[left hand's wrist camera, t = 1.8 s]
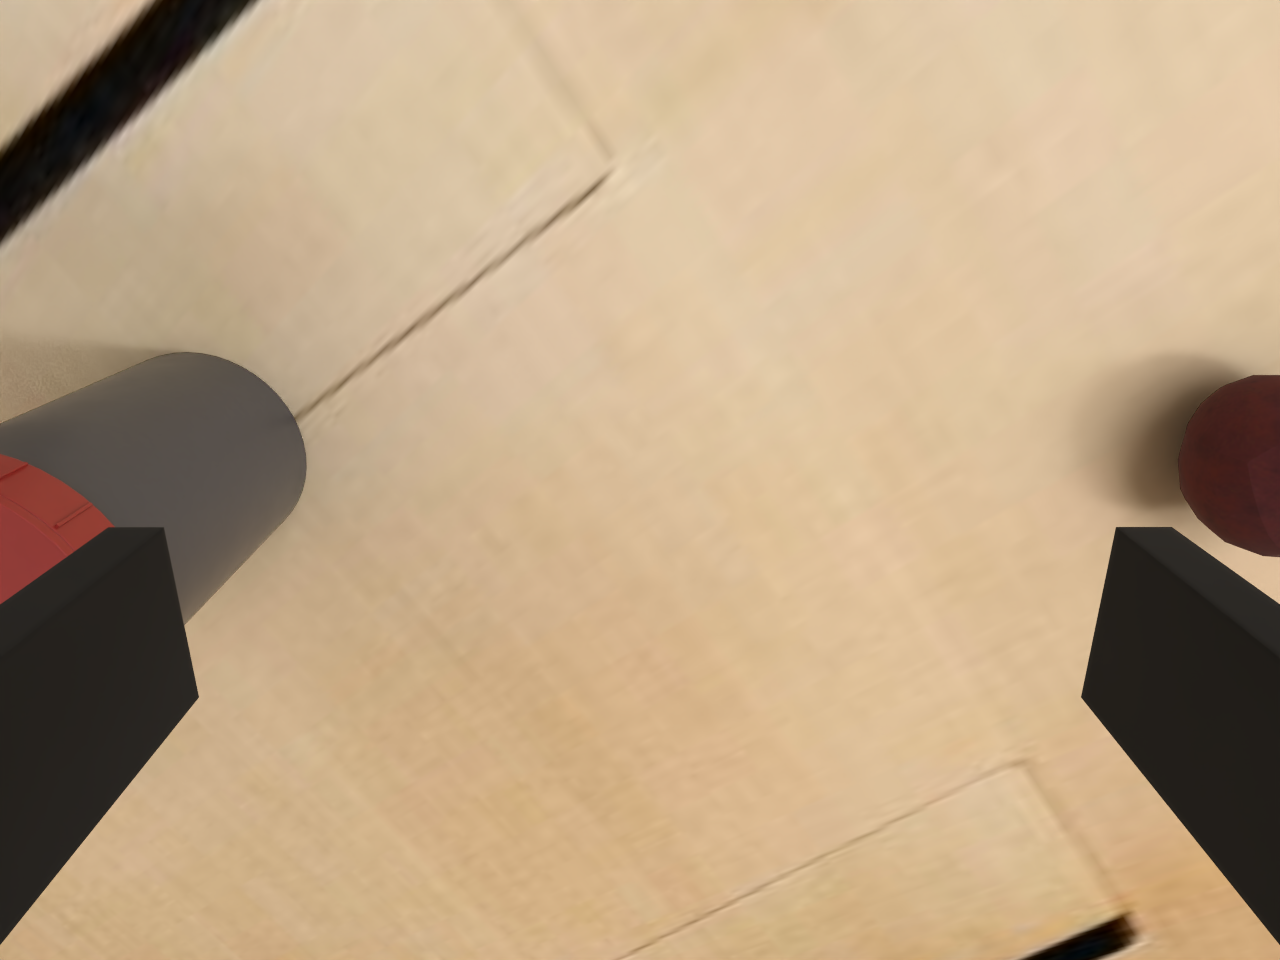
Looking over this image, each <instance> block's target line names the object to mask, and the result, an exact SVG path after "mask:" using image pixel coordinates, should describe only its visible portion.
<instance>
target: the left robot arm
mask: <svg viewBox="0 0 1280 960" xmlns="http://www.w3.org/2000/svg"><path fill="white" fill-rule="evenodd" d="M198 698H199V696H198V691H197V686H196V681H195V676H194V671H193V666H192V661H191V657H190V652H189V647H188V642H187V637H186V632H185V627H184V623H183V618H182V613H181V608H180V603H179V598H178V593H177V588H176V584H175V579H174V574H173V569H172V564H171V559H170V554H169V550H168V545H167V540H166V535H165V530H164V527H108V528H106V529H105V530H104V531H102V532H101V533H99V534H98V535H97V536H95V537H94V538H92V539H91V540H90V541H88V542H87V543H85V544H84V545H83V546H81V547H80V548H78V549H77V550H76V551H74V552H73V553H71V554H70V555H69V556H67V557H66V558H64V559H63V560H62V561H60V562H59V563H58V564H56V565H55V566H53V567H52V568H51V569H49V570H48V571H46V572H45V573H44V574H42V575H41V576H39V577H38V578H37V579H35V580H34V581H32V582H31V583H30V584H28V585H27V586H25V587H24V588H23V589H21V590H20V591H18V592H17V593H16V594H14V595H13V596H11V597H10V598H9V599H7V600H6V601H4V602H3V603H2V604H0V944H1V943H2V942H3V941H4V939H5V938H6V937H7V936H8V934H9V933H10V932H11V931H12V930H13V928H14V927H15V926H16V925H17V923H18V922H19V921H20V920H21V918H22V917H23V916H24V915H25V913H26V912H27V911H28V910H29V908H30V907H31V906H32V905H33V903H34V902H35V901H36V900H37V898H38V897H39V896H40V895H41V893H42V892H43V891H44V890H45V888H46V887H47V886H48V885H49V883H50V882H51V881H52V880H53V878H54V877H55V876H56V875H57V873H58V872H59V871H60V870H61V868H62V867H63V866H64V865H65V863H66V862H67V861H68V860H69V858H70V857H71V856H72V855H73V853H74V852H75V851H76V850H77V848H78V847H79V846H80V845H81V844H82V842H83V841H84V840H85V839H86V837H87V836H88V835H89V834H90V832H91V831H92V830H93V829H94V827H95V826H96V825H97V824H98V822H99V821H100V820H101V819H102V817H103V816H104V815H105V814H106V812H107V811H108V810H109V809H110V807H111V806H112V805H113V804H114V802H115V801H116V800H117V799H118V797H119V796H120V795H121V794H122V792H123V791H124V790H125V789H126V787H127V786H128V785H129V784H130V782H131V781H132V780H133V779H134V777H135V776H136V775H137V774H138V772H139V771H140V770H141V769H142V767H143V766H144V765H145V764H146V762H147V761H148V760H149V759H150V758H151V756H152V755H153V754H154V753H155V751H156V750H157V749H158V748H159V746H160V745H161V744H162V743H163V741H164V740H165V739H166V738H167V736H168V735H169V734H170V733H171V731H172V730H173V729H174V728H175V726H176V725H177V724H178V723H179V721H180V720H181V719H182V718H183V716H184V715H185V714H186V713H187V711H188V710H189V709H190V708H191V706H192V705H193V704H194V703H195V701H196V700H197V699H198ZM1081 698H1082V699H1083V700H1084V701H1085V703H1086V704H1087V705H1088V706H1089V708H1090V709H1091V710H1092V711H1093V713H1094V714H1095V715H1096V716H1097V718H1098V719H1099V720H1100V721H1101V723H1102V724H1103V725H1104V726H1105V728H1106V729H1107V730H1108V731H1109V733H1110V734H1111V735H1112V736H1113V738H1114V739H1115V740H1116V741H1117V743H1118V744H1119V745H1120V746H1121V748H1122V749H1123V750H1124V751H1125V753H1126V754H1127V755H1128V756H1129V758H1130V759H1131V760H1132V761H1133V762H1134V764H1135V765H1136V766H1137V767H1138V769H1139V770H1140V771H1141V772H1142V774H1143V775H1144V776H1145V777H1146V779H1147V780H1148V781H1149V782H1150V784H1151V785H1152V786H1153V787H1154V789H1155V790H1156V791H1157V792H1158V794H1159V795H1160V796H1161V797H1162V799H1163V800H1164V801H1165V802H1166V804H1167V805H1168V806H1169V807H1170V809H1171V810H1172V811H1173V812H1174V814H1175V815H1176V816H1177V817H1178V819H1179V820H1180V821H1181V822H1182V824H1183V825H1184V826H1185V827H1186V829H1187V830H1188V831H1189V832H1190V834H1191V835H1192V836H1193V837H1194V839H1195V840H1196V841H1197V842H1198V844H1199V845H1200V846H1201V847H1202V848H1203V850H1204V851H1205V852H1206V853H1207V855H1208V856H1209V857H1210V858H1211V860H1212V861H1213V862H1214V863H1215V865H1216V866H1217V867H1218V868H1219V870H1220V871H1221V872H1222V873H1223V875H1224V876H1225V877H1226V878H1227V880H1228V881H1229V882H1230V883H1231V885H1232V886H1233V887H1234V888H1235V890H1236V891H1237V892H1238V893H1239V895H1240V896H1241V897H1242V898H1243V900H1244V901H1245V902H1246V903H1247V905H1248V906H1249V907H1250V908H1251V910H1252V911H1253V912H1254V913H1255V915H1256V916H1257V917H1258V918H1259V920H1260V921H1261V922H1262V923H1263V925H1264V926H1265V927H1266V928H1267V930H1268V931H1269V932H1270V933H1271V934H1272V936H1273V937H1274V938H1275V939H1276V941H1277V942H1278V943H1279V944H1280V604H1278V603H1277V602H1276V601H1274V600H1273V599H1271V598H1270V597H1269V596H1267V595H1266V594H1264V593H1263V592H1262V591H1260V590H1259V589H1257V588H1256V587H1255V586H1253V585H1252V584H1250V583H1249V582H1248V581H1246V580H1245V579H1243V578H1242V577H1241V576H1239V575H1238V574H1236V573H1235V572H1234V571H1232V570H1231V569H1229V568H1228V567H1227V566H1225V565H1224V564H1222V563H1221V562H1220V561H1218V560H1217V559H1215V558H1214V557H1213V556H1211V555H1210V554H1208V553H1207V552H1206V551H1204V550H1203V549H1201V548H1200V547H1199V546H1197V545H1196V544H1194V543H1193V542H1192V541H1190V540H1189V539H1188V538H1186V537H1185V536H1183V535H1182V534H1180V533H1179V532H1178V531H1176V530H1175V529H1174V528H1172V527H1116V530H1115V535H1114V540H1113V545H1112V550H1111V554H1110V559H1109V564H1108V569H1107V574H1106V579H1105V584H1104V588H1103V593H1102V598H1101V603H1100V608H1099V613H1098V618H1097V623H1096V627H1095V632H1094V637H1093V642H1092V647H1091V652H1090V657H1089V661H1088V666H1087V671H1086V676H1085V681H1084V686H1083V691H1082V696H1081Z"/></svg>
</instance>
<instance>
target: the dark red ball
mask: <svg viewBox="0 0 1280 960" xmlns="http://www.w3.org/2000/svg"><path fill="white" fill-rule="evenodd" d="M1178 466H1179V479H1180V489H1181V491H1182V493H1183V495H1184V497H1185V499H1186V501H1187V502H1188V504H1189V506H1190V507H1191V509H1192V510H1193V512H1194V513H1195V515H1196V516H1197V518H1198V519H1199V520H1200V521H1201V522H1202V523H1204V524H1205V525H1206V526H1207V527H1208V528H1209V529H1210V530H1211V531H1213V532H1214V533H1215V534H1216V535H1217V536H1219V537H1220V538H1221V539H1222V540H1223V541H1225V542H1227V543H1229V544H1232V545H1235V546H1237V547H1240V548H1243V549H1245V550H1248V551H1251V552H1254V553H1256V554H1259V555H1262V556H1271V557H1280V375H1253V376H1250V377H1247V378H1244V379H1241V380H1239V381H1236V382H1233V383H1230V384H1227V385H1225V386H1223V387H1221V388H1219V389H1218V390H1217V391H1216V392H1214V393H1213V394H1212V395H1211V396H1209V397H1208V398H1207V399H1206V400H1205V401H1203V402H1202V403H1201V404H1200V406H1199V407H1198V409H1197V410H1196V412H1195V413H1194V415H1193V416H1192V418H1191V420H1190V421H1189V423H1188V425H1187V429H1186V432H1185V436H1184V439H1183V443H1182V446H1181V450H1180V454H1179V458H1178Z"/></svg>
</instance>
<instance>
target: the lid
mask: <svg viewBox="0 0 1280 960" xmlns="http://www.w3.org/2000/svg"><path fill="white" fill-rule="evenodd" d="M108 527H115V526H114V525H113V524H112V523H111V522H110V521H109V520H108V519H107V518H106V517H105V516H104V515H103V513H102V512H101V511H99V510H98V509H97V508H96V507H95V506H94V505H93V504H92V503H91V502H89V501H88V500H87V499H86V498H84V497H83V496H82V495H81V494H79V493H78V492H76V491H75V490H74V489H72V488H71V487H69V486H68V485H66V484H65V483H64V482H62V481H60V480H59V479H57V478H55V477H53V476H51V475H50V474H48V473H46V472H44V471H43V470H41V469H39V468H36V467H34V466H32V465H29V464H28V463H27V462H22V461H20V460H18V459H15V458H12V457H9V456H5V455H2V454H0V604H2V603H3V602H4V601H6V600H7V599H9V598H10V597H11V596H13V595H14V594H16V593H17V592H18V591H20V590H21V589H23V588H24V587H25V586H27V585H28V584H30V583H31V582H32V581H34V580H35V579H37V578H38V577H39V576H41V575H42V574H44V573H45V572H46V571H48V570H49V569H51V568H52V567H53V566H55V565H56V564H58V563H59V562H60V561H62V560H63V559H64V558H66V557H67V556H69V555H70V554H71V553H73V552H74V551H76V550H77V549H78V548H80V547H81V546H83V545H84V544H85V543H87V542H88V541H90V540H91V539H92V538H94V537H95V536H97V535H98V534H99V533H101V532H102V531H104V530H105V529H106V528H108Z"/></svg>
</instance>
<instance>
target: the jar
mask: <svg viewBox="0 0 1280 960" xmlns="http://www.w3.org/2000/svg"><path fill="white" fill-rule="evenodd" d="M0 454H2V455H5V456H9V457H12V458H15V459H18V460H20V461H22V462H27V463H28V464H29V465H32V466H34V467H36V468H39V469H41V470H43V471H44V472H46V473H48V474H50V475H51V476H53V477H55V478H57V479H59V480H60V481H62V482H64V483H65V484H66V485H68V486H69V487H71V488H72V489H74V490H75V491H76V492H78V493H79V494H81V495H82V496H83V497H84V498H86V499H87V500H88V501H89V502H91V503H92V504H93V505H94V506H95V507H96V508H97V509H98V510H99V511H101V512H102V513H103V515H104V516H105V517H106V518H107V519H108V520H109V521H110V522H111V523H112V524H113V525H114V526H115V527H164V530H165V535H166V540H167V545H168V550H169V554H170V559H171V564H172V569H173V574H174V579H175V584H176V588H177V593H178V598H179V603H180V608H181V613H182V618H183V623H184V625H185V624H186V623H187V622H188V621H189V620H190V619H191V618H192V617H193V616H194V615H195V613H196V612H197V611H198V610H199V609H200V608H201V607H202V606H203V605H204V604H205V603H206V602H207V601H208V600H209V599H210V598H211V597H212V596H213V595H214V594H215V592H216V591H217V590H218V589H219V588H220V587H221V586H222V585H223V584H224V583H225V582H226V581H227V580H228V579H229V578H230V577H231V576H232V575H233V574H234V573H235V572H236V570H237V569H238V568H239V567H240V566H241V565H242V564H243V563H244V562H245V561H246V560H247V559H248V558H249V557H250V556H251V555H252V554H253V553H254V552H255V551H256V550H257V548H258V547H259V546H260V545H261V544H262V543H263V542H264V541H265V540H266V539H267V538H268V537H269V536H270V535H271V534H272V533H273V532H274V531H275V530H276V529H277V527H278V526H279V525H280V524H281V523H282V522H283V521H284V520H285V519H286V518H287V517H288V515H289V514H290V513H291V512H292V510H293V509H294V507H295V505H296V504H297V502H298V500H299V498H300V495H301V493H302V490H303V486H304V482H305V476H306V453H305V448H304V443H303V439H302V436H301V433H300V430H299V428H298V426H297V424H296V421H295V419H294V417H293V416H292V414H291V412H290V411H289V409H288V408H287V406H286V405H285V403H284V402H283V401H282V400H281V398H280V397H279V396H278V395H277V394H276V393H275V392H274V391H273V390H272V389H271V388H270V387H269V386H268V385H267V384H266V383H265V382H263V381H262V380H261V379H260V378H258V377H257V376H256V375H254V374H253V373H251V372H249V371H248V370H246V369H245V368H243V367H241V366H239V365H236V364H234V363H232V362H230V361H227V360H224V359H221V358H218V357H215V356H210V355H206V354H200V353H172V354H167V355H161V356H158V357H155V358H152V359H149V360H147V361H144V362H142V363H140V364H137V365H135V366H133V367H130V368H128V369H126V370H123V371H121V372H119V373H116V374H114V375H112V376H110V377H107V378H105V379H103V380H100V381H98V382H96V383H93V384H91V385H89V386H86V387H84V388H82V389H79V390H77V391H75V392H72V393H70V394H68V395H66V396H63V397H61V398H59V399H56V400H54V401H52V402H49V403H47V404H45V405H42V406H40V407H38V408H35V409H33V410H31V411H28V412H26V413H24V414H22V415H19V416H17V417H15V418H12V419H10V420H8V421H5V422H3V423H1V424H0Z"/></svg>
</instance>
